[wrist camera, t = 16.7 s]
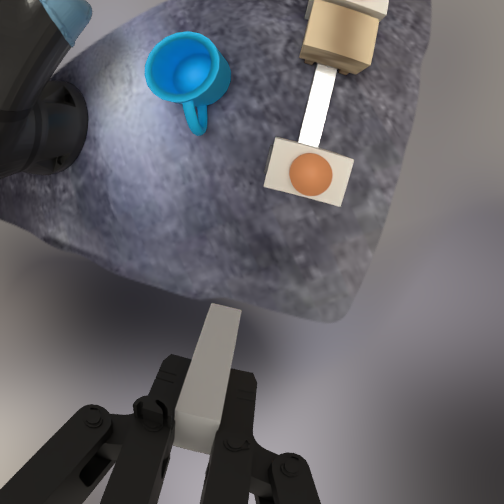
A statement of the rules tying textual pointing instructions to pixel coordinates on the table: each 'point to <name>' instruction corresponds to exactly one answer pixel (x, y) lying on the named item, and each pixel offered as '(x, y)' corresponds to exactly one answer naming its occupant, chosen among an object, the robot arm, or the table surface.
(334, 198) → the cabinet
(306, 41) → the block
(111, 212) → the table surface
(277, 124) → the table surface
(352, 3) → the cabinet
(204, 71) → the mug
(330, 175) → the plunger
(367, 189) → the table surface
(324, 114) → the rail
